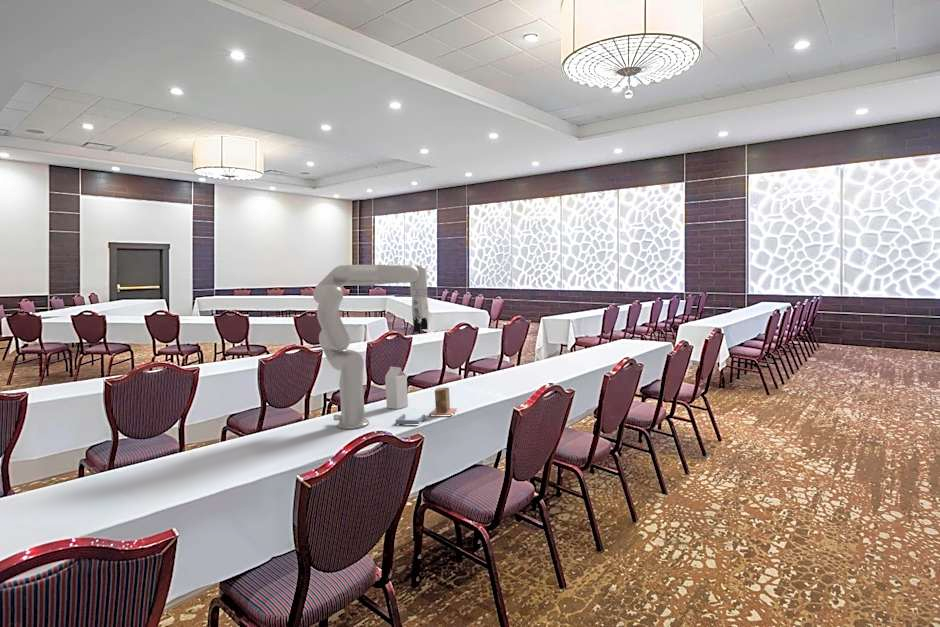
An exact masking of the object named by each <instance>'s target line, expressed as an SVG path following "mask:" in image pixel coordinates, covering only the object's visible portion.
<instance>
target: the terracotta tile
mask: <svg viewBox="0 0 940 627" xmlns="http://www.w3.org/2000/svg"><path fill="white" fill-rule="evenodd" d="M456 410H457V411H458V408H451V407H450V410H449V411H448V412H447V413H436V407H435V408H434V409H433V410H432V411H430V412H429V413H428V416H429V415H451V414H452V413H454V412H455V411H456ZM457 411H456V412H457ZM456 412H455V413H456ZM455 413H454V414H455Z"/></svg>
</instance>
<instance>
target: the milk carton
mask: <svg viewBox="0 0 940 627" xmlns="http://www.w3.org/2000/svg"><path fill="white" fill-rule="evenodd" d="M384 379H385V380H384V381H385V383H384V384H385V397H386V398H385V399H386V402H385V403H386V408H387V409H391V410H400V409H403V408H406V407H409V402H408V401H409V400H408V397H409V396H408V380H407V379H408V378H407V374H406V373H405V372H404V371H402V367H397V366H389V370H388V371H387V373H386V374H385V375H384Z"/></svg>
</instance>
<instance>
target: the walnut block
mask: <svg viewBox="0 0 940 627" xmlns="http://www.w3.org/2000/svg"><path fill="white" fill-rule="evenodd" d="M434 398H435V400H434V401H435V408H436V413H447V412H448V411H449V410H450V408H451V406H450V387H437V388H436V389H434Z"/></svg>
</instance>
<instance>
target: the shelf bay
mask: <svg viewBox="0 0 940 627" xmlns="http://www.w3.org/2000/svg"><path fill="white" fill-rule="evenodd" d="M405 418H406V414H401V416H398V417H397V418H396V419H395V425H396V424H419V423H420V422H422V421H423V420H424V419H425V420H426V414H422V415H420V417H419V418H418V419H405ZM404 419H405V420H404ZM425 420H424V421H425ZM424 421H423V422H424ZM423 422H422V423H423Z"/></svg>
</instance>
